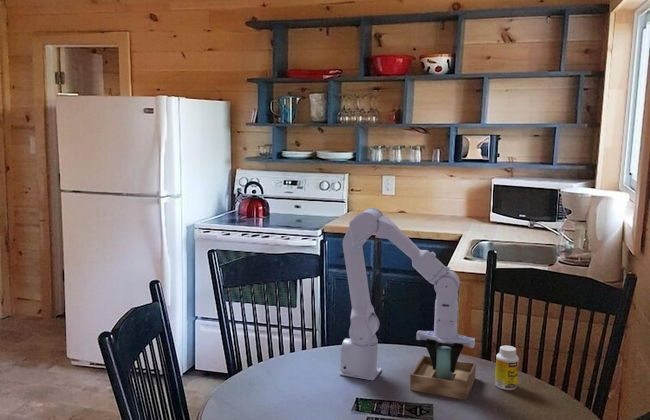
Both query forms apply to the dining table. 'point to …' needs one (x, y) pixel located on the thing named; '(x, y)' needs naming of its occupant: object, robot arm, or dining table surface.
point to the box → (428, 383)
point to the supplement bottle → (506, 368)
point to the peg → (443, 362)
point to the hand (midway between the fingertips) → (443, 369)
